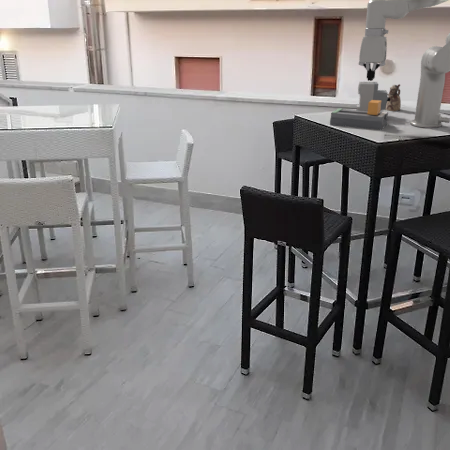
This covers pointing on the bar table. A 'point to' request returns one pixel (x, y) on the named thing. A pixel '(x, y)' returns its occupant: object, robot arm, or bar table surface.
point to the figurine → (394, 99)
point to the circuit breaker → (371, 95)
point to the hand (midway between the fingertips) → (370, 80)
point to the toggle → (374, 107)
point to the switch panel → (357, 123)
